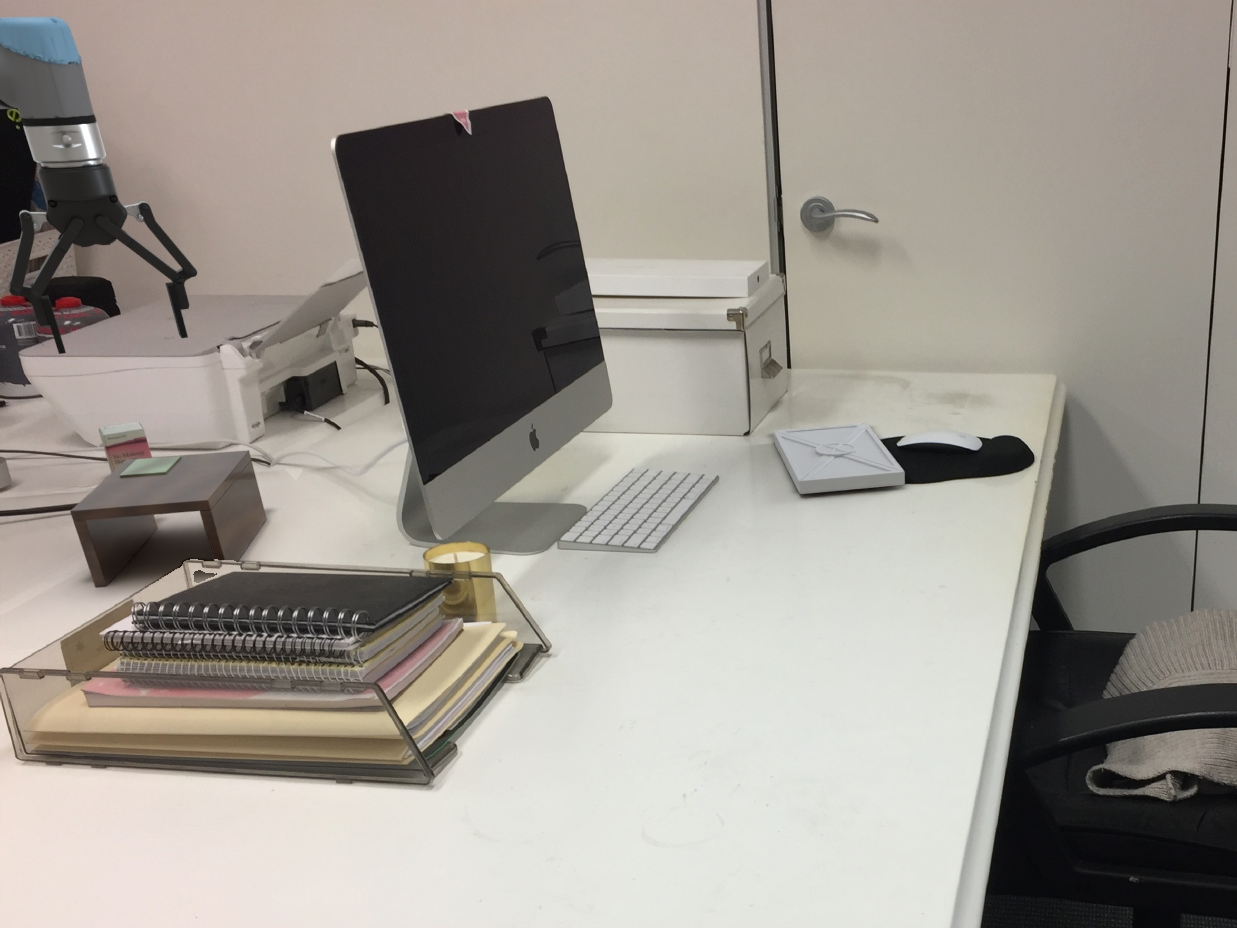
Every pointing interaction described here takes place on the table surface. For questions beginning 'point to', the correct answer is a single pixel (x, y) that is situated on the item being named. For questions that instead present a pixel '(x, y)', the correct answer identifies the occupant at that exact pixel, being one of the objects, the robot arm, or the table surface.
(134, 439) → the small box
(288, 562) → the table surface
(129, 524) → the shelf
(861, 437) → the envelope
